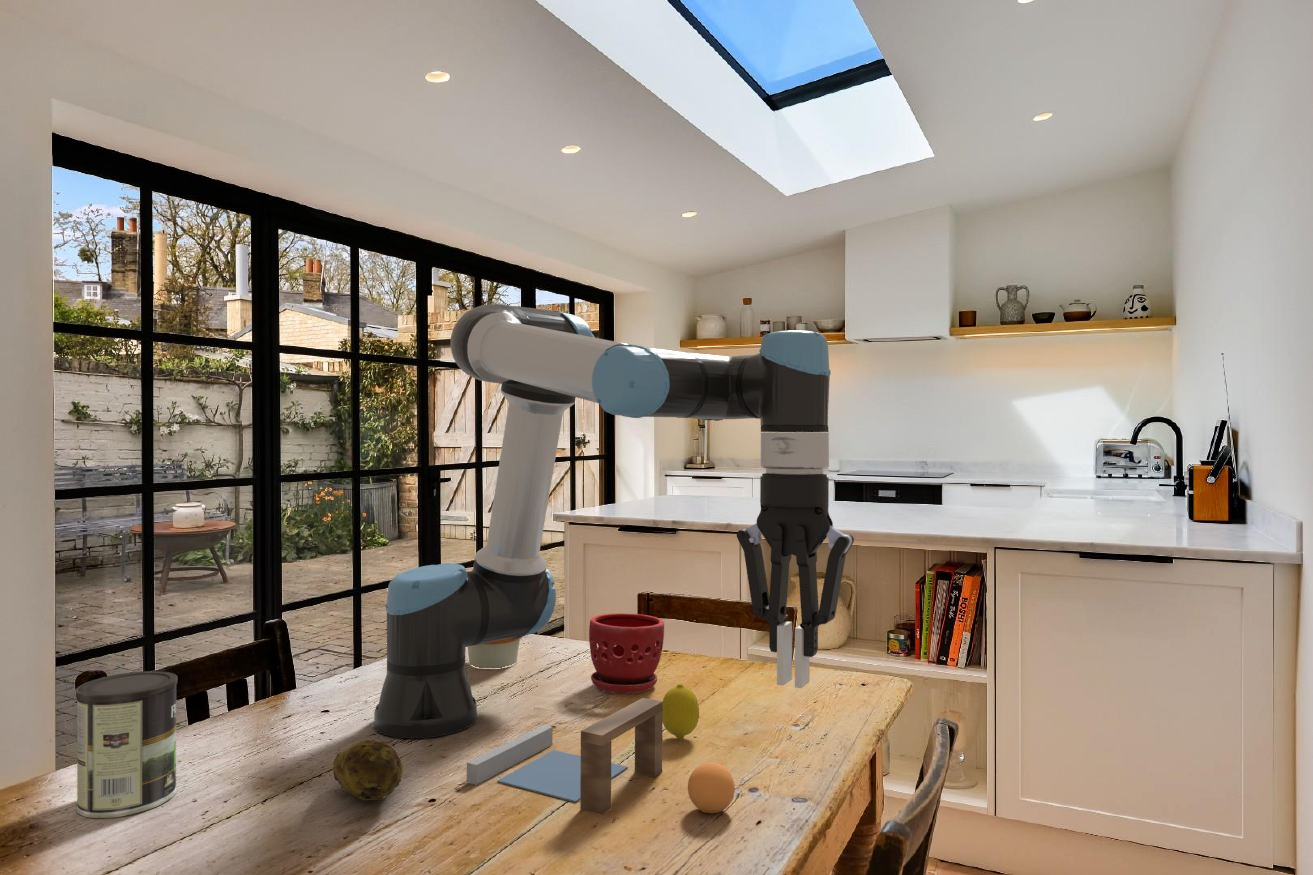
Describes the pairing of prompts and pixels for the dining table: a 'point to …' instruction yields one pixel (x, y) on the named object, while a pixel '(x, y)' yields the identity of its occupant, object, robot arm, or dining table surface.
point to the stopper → (508, 754)
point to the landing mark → (553, 775)
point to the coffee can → (126, 743)
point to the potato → (368, 769)
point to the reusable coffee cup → (494, 653)
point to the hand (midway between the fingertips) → (793, 682)
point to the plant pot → (625, 651)
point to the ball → (711, 787)
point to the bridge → (598, 750)
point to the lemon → (680, 711)
